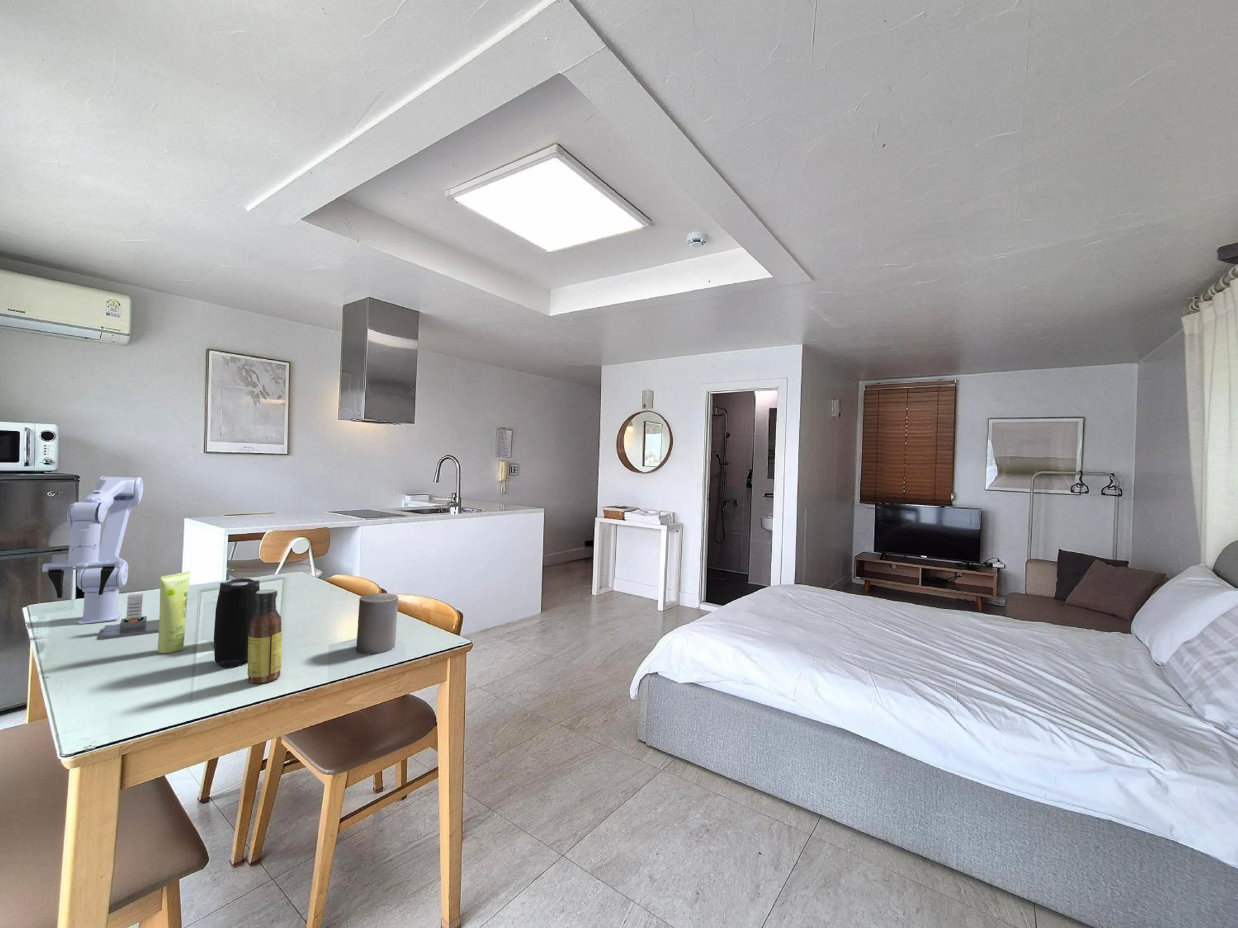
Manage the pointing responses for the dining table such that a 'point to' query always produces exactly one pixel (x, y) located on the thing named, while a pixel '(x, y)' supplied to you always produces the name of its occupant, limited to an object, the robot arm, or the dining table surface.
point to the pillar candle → (377, 623)
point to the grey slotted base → (130, 628)
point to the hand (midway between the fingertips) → (80, 595)
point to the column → (134, 606)
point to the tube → (173, 611)
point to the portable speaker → (234, 620)
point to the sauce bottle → (264, 639)
